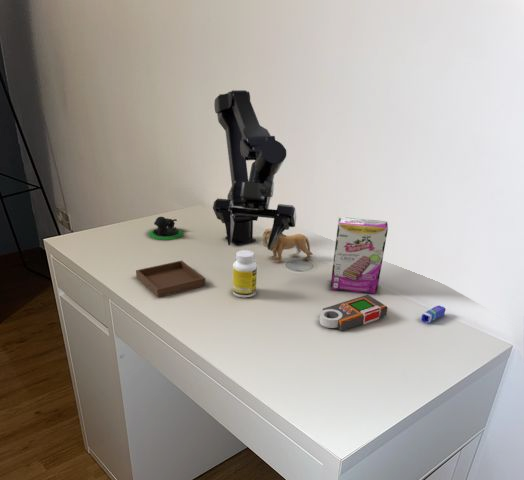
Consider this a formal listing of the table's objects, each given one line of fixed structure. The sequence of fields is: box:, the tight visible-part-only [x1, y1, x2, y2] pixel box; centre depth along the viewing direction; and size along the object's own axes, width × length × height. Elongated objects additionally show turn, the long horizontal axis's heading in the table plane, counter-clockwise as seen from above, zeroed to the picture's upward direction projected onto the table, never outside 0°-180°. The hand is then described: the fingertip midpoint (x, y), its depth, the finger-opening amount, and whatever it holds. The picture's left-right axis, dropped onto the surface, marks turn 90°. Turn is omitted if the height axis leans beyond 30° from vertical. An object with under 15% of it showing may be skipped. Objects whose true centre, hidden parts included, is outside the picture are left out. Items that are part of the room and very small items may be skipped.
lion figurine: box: [261, 228, 313, 263], centre depth 141 cm, size 15×5×9 cm, turn 113°
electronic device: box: [319, 294, 388, 332], centre depth 116 cm, size 7×3×15 cm
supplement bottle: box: [232, 249, 258, 299], centre depth 123 cm, size 5×5×10 cm
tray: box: [135, 260, 206, 298], centre depth 129 cm, size 12×12×2 cm
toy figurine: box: [148, 216, 184, 241], centre depth 155 cm, size 10×10×6 cm
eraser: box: [421, 305, 446, 324], centre depth 117 cm, size 2×6×2 cm, turn 130°
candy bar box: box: [330, 216, 389, 295], centre depth 125 cm, size 11×5×16 cm, turn 81°
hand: (248, 246), depth 123 cm, fingers open, 9 cm apart
